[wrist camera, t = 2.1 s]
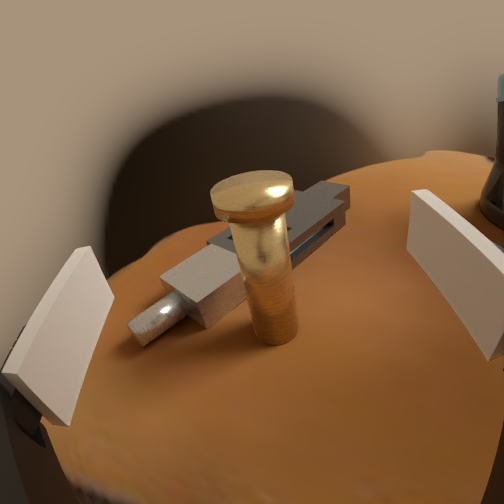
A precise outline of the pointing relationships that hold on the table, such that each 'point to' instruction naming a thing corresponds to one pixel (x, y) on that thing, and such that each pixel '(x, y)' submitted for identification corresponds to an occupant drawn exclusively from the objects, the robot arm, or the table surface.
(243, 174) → the clevis pin
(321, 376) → the table surface
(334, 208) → the clevis
